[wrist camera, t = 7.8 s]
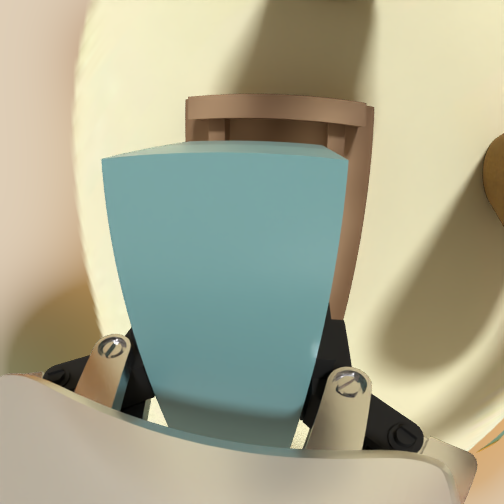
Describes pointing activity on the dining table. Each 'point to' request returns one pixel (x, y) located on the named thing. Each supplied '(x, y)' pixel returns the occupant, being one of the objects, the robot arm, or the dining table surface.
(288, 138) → the display cradle
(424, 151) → the dining table surface
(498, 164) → the plant pot
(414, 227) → the dining table surface
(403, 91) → the dining table surface
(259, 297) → the teal block
